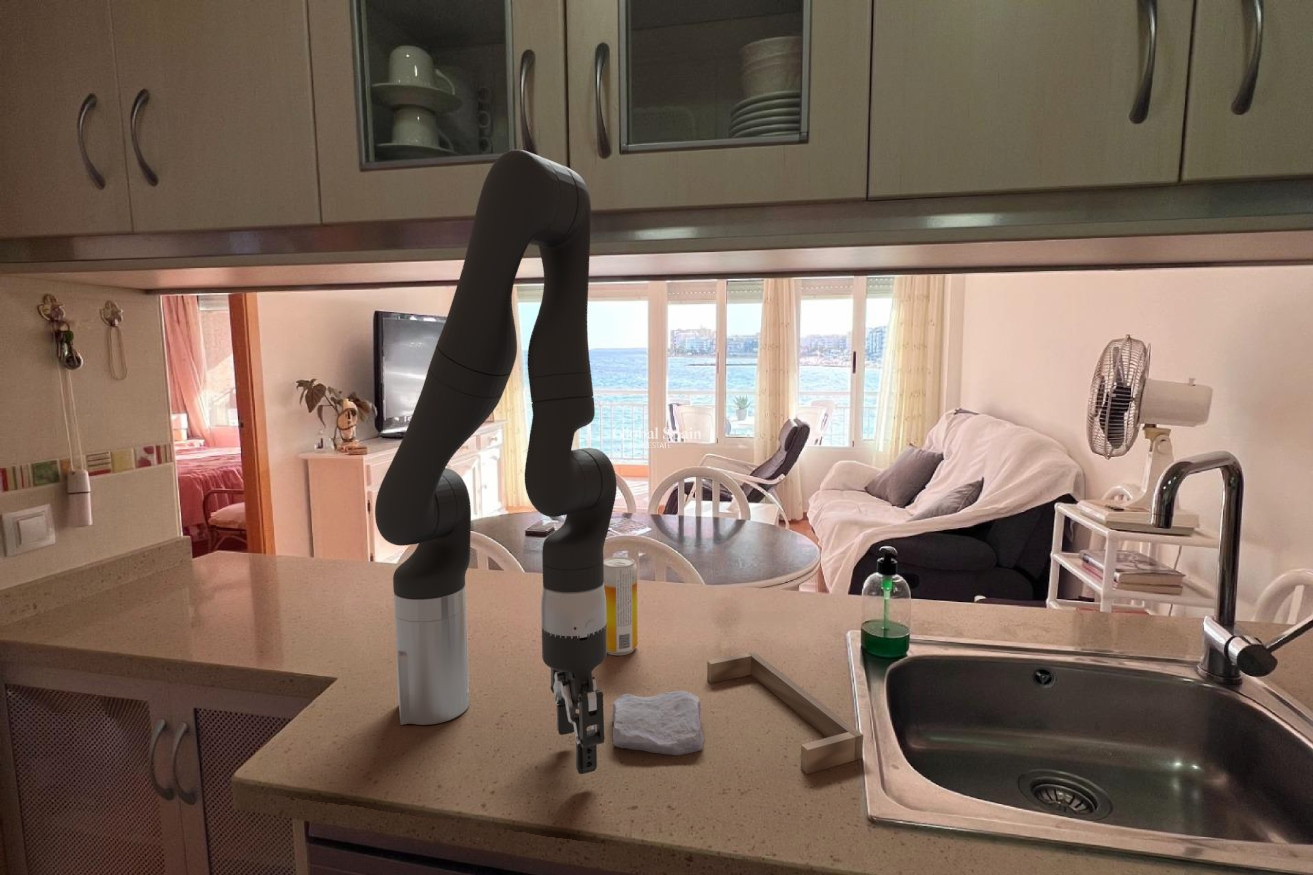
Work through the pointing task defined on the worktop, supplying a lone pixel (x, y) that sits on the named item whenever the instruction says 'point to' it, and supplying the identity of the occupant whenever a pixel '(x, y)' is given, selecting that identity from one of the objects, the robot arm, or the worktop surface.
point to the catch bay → (814, 755)
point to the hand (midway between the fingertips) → (576, 750)
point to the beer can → (621, 604)
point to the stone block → (658, 723)
